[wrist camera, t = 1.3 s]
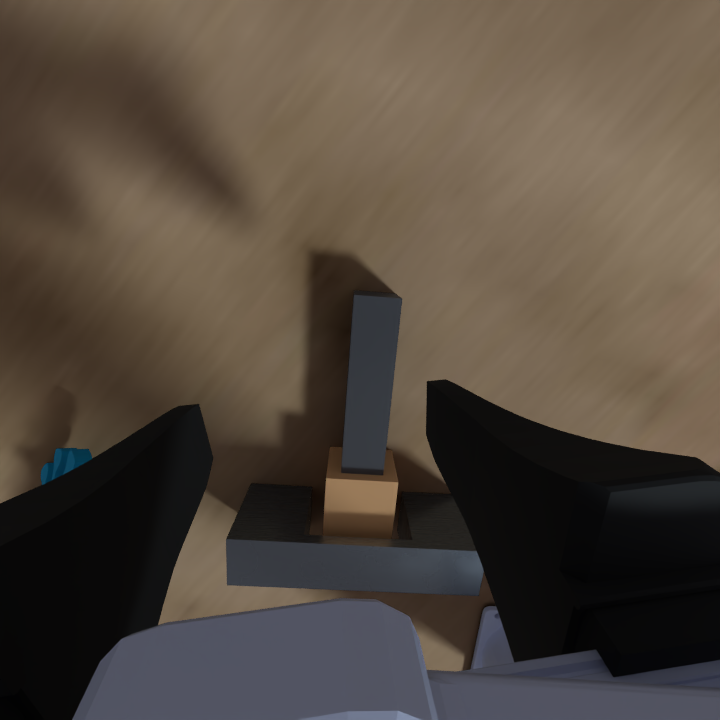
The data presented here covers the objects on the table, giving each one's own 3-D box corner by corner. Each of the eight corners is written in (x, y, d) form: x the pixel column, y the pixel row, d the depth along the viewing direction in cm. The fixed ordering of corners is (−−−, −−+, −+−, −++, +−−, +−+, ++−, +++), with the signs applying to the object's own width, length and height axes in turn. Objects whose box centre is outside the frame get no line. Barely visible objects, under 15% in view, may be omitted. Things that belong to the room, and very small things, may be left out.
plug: (339, 289, 21) (337, 294, 18) (408, 294, 21) (420, 301, 18) (325, 512, 25) (321, 553, 21) (384, 515, 25) (389, 556, 22)
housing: (460, 495, 25) (487, 552, 20) (454, 532, 26) (478, 595, 21) (251, 483, 24) (226, 539, 19) (251, 522, 25) (226, 585, 20)
